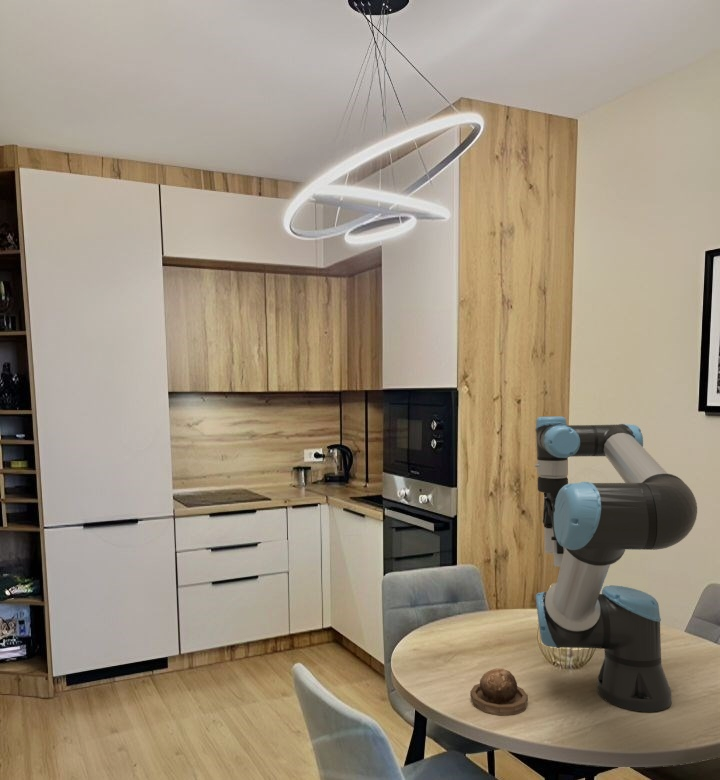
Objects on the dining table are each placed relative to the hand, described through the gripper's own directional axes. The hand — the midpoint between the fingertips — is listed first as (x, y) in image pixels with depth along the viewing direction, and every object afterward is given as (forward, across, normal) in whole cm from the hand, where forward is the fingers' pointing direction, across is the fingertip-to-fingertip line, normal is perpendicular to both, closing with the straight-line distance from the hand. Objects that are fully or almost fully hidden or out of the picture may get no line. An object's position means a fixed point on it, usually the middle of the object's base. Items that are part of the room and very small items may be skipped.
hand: (554, 559), depth 154 cm
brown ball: (+25, +23, -17) cm, 38 cm away
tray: (+26, +23, -16) cm, 38 cm away
